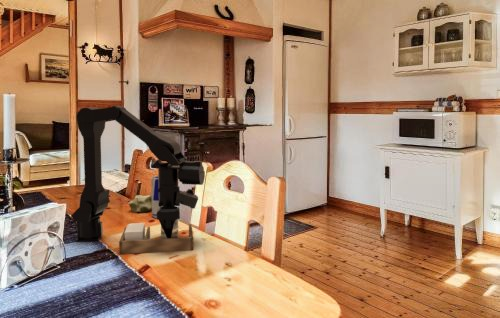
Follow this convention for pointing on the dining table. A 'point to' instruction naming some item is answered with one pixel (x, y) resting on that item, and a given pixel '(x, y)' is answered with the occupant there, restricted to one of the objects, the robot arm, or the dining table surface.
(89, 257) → the dining table surface
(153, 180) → the beverage can
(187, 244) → the crate
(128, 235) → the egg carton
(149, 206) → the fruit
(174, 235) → the clear glass jar
